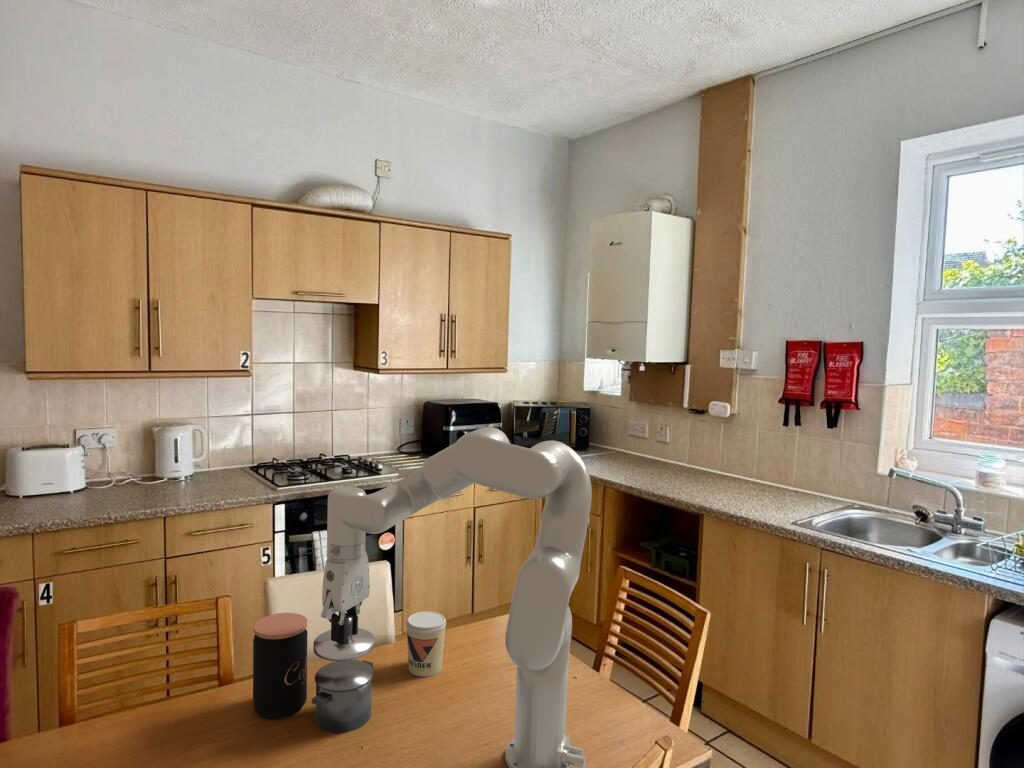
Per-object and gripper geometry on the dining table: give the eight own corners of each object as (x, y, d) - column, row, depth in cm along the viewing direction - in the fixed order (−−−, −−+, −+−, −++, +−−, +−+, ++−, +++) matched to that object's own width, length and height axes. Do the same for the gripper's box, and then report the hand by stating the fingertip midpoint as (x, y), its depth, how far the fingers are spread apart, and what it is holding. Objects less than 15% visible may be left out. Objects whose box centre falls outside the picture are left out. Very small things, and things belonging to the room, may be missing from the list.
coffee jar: (289, 725, 128) (290, 638, 127) (241, 717, 130) (242, 631, 129) (316, 696, 138) (317, 615, 137) (271, 689, 140) (272, 609, 139)
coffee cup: (398, 674, 148) (399, 624, 148) (415, 655, 157) (416, 608, 157) (435, 681, 146) (436, 630, 145) (451, 662, 155) (452, 614, 154)
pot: (390, 702, 137) (391, 662, 136) (340, 747, 122) (341, 701, 121) (346, 689, 141) (346, 650, 141) (293, 730, 126) (293, 686, 125)
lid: (385, 640, 134) (386, 611, 133) (349, 666, 123) (350, 635, 122) (339, 628, 138) (339, 600, 138) (300, 652, 127) (300, 622, 127)
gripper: (334, 565, 120) (333, 659, 121) (385, 541, 135) (383, 625, 136) (303, 558, 123) (301, 650, 124) (356, 535, 138) (354, 617, 139)
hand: (344, 636), depth 130 cm, fingers closed on lid, 3 cm apart
